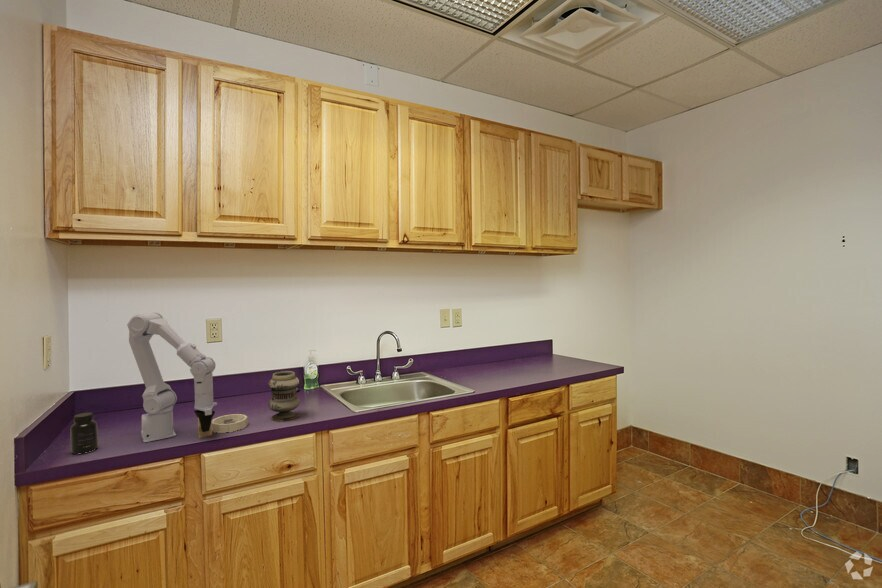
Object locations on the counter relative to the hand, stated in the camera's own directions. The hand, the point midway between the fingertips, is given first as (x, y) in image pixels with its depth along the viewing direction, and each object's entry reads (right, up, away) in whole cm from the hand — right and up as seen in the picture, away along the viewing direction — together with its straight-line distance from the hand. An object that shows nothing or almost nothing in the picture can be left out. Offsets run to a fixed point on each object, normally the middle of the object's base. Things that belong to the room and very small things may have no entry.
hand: (204, 430), depth 152 cm
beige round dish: (+4, -2, +9) cm, 10 cm away
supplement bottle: (-32, -3, -12) cm, 35 cm away
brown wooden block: (0, -2, 0) cm, 2 cm away
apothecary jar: (+21, -1, +20) cm, 29 cm away
